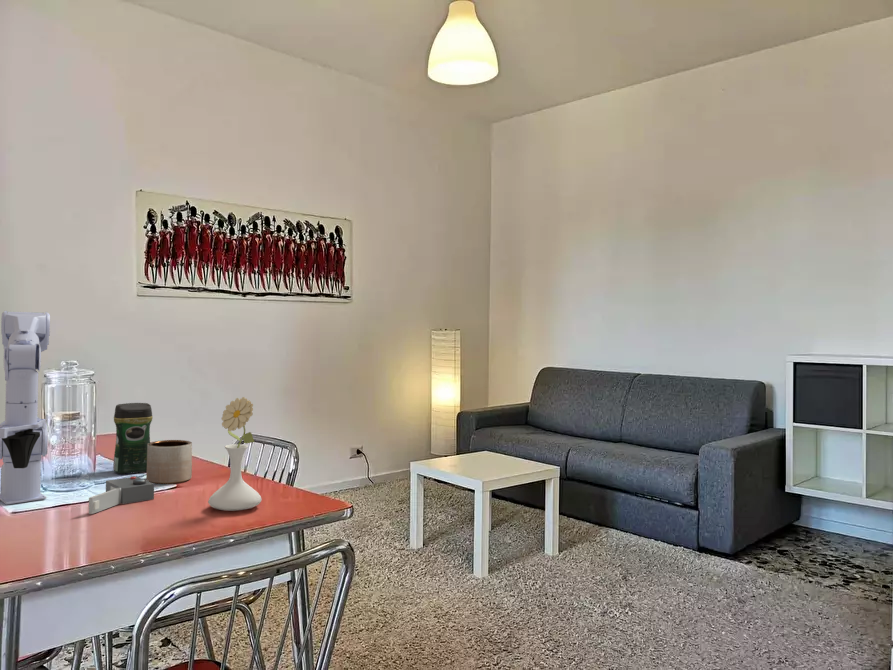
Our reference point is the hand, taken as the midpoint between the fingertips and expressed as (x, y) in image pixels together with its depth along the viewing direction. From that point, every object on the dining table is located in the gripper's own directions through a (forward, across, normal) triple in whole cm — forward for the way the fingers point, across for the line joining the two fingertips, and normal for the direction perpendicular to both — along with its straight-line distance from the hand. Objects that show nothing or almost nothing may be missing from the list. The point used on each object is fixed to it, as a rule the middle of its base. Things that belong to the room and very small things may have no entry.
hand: (20, 467), depth 143 cm
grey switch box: (+10, +16, -16) cm, 25 cm away
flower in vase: (+10, +8, -42) cm, 44 cm away
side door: (+10, +6, -15) cm, 19 cm away
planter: (+10, +35, -18) cm, 40 cm away
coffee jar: (+10, +44, -4) cm, 45 cm away
